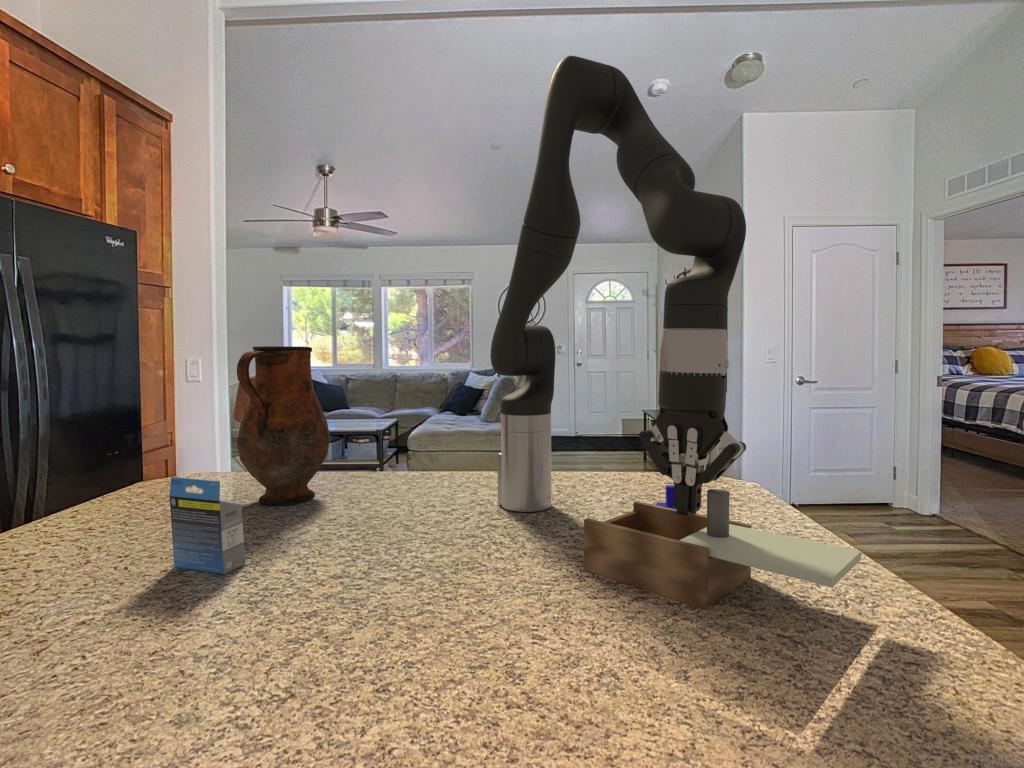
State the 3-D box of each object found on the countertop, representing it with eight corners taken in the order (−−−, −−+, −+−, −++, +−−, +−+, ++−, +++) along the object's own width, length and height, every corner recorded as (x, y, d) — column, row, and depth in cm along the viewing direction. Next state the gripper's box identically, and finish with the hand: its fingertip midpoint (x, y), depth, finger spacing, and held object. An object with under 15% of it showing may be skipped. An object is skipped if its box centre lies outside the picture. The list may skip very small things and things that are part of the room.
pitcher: (346, 489, 118) (343, 346, 117) (288, 519, 97) (283, 344, 96) (274, 487, 121) (270, 347, 120) (203, 514, 100) (197, 345, 99)
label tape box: (246, 565, 76) (243, 474, 75) (222, 576, 72) (219, 481, 71) (196, 558, 79) (193, 470, 78) (170, 568, 75) (166, 476, 74)
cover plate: (678, 548, 63) (679, 495, 63) (718, 528, 70) (718, 481, 69) (832, 587, 52) (833, 524, 52) (861, 559, 59) (862, 503, 59)
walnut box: (584, 575, 71) (583, 519, 71) (636, 551, 80) (636, 501, 79) (704, 616, 60) (705, 549, 59) (750, 583, 68) (751, 524, 68)
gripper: (626, 366, 68) (621, 508, 69) (734, 372, 59) (727, 535, 60) (658, 365, 73) (654, 497, 74) (763, 370, 64) (755, 520, 65)
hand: (686, 514), depth 67 cm, fingers closed
